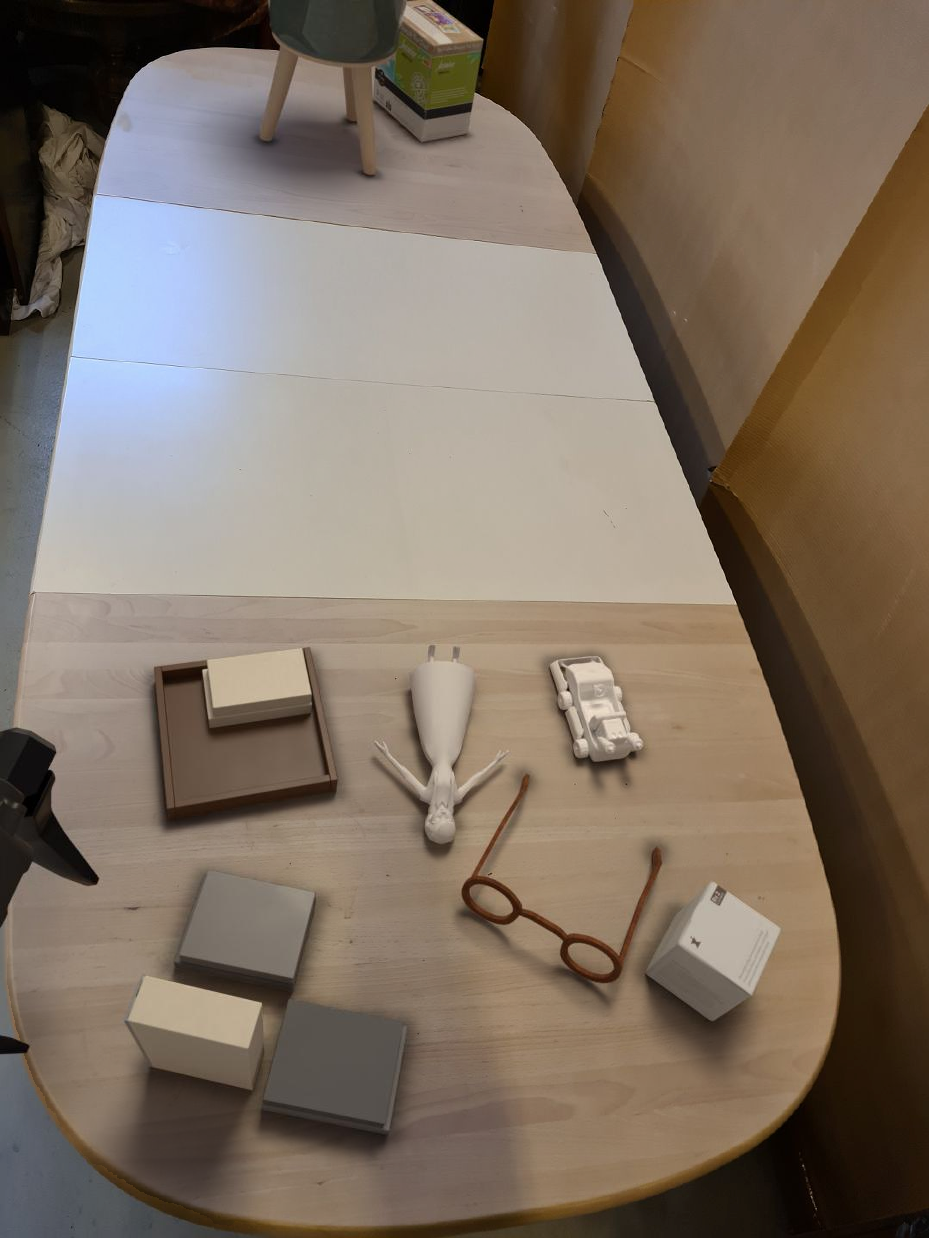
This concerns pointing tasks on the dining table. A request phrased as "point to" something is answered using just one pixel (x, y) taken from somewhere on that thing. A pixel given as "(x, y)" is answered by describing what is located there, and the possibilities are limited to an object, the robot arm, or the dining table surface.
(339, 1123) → the dark grey book stack
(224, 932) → the grey book stack left
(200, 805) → the book tray
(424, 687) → the woman figurine
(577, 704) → the toy car
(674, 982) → the white cardboard box
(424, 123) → the tea box
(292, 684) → the white book stack
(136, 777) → the dining table surface
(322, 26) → the planter
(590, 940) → the glasses
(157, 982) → the white book
